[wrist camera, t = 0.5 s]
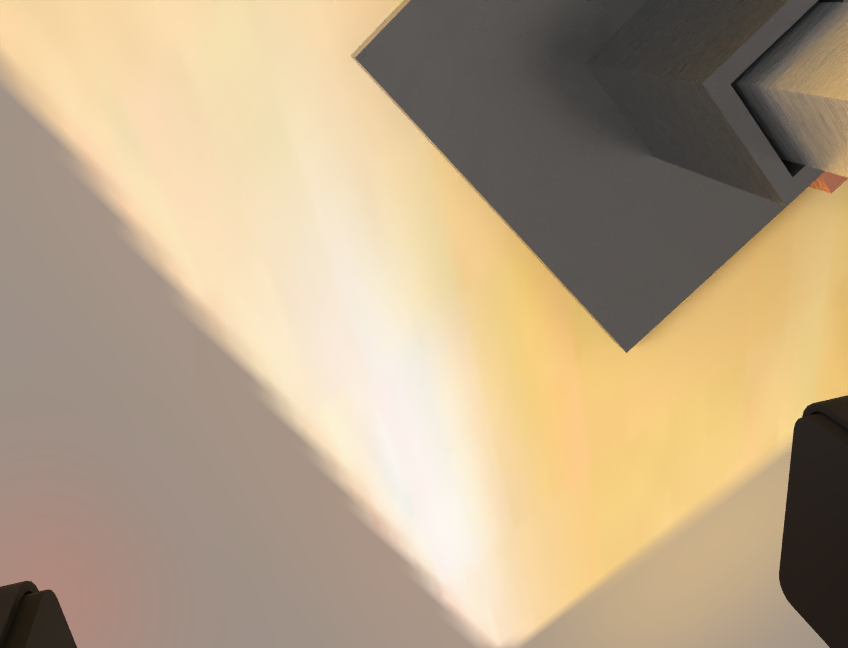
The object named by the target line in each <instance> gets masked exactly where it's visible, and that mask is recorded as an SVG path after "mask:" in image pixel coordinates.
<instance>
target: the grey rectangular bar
mask: <svg viewBox="0 0 848 648" xmlns="http://www.w3.org/2000/svg"><path fill="white" fill-rule="evenodd" d="M731 86H732V87H733V89H734V90H735V92H736V93H737V95H738V96H739V98H740V99H741V101H742V102H743V104H744V105H745V107H746V108H747V110H748V111H749V113H750V114H751V116H752V117H753V119H754V120H755V122H756V123H757V125H758V126H759V128H760V129H761V131H762V132H763V134H764V135H765V137H766V138H767V140H768V141H769V143H770V144H771V146H772V147H773V149H774V150H775V152H776V153H777V155H778V156H779V158H781V159H784V160H788V161H791V162H795V163H798V164H802V165H805V166H809V167H812V168H816V169H819V170H823V171H826V172H830V173H833V174H837V175H840V176H844V177H847V178H848V2H816V3H815V4H814V5H813V6H812V7H811V8H810V9H809V10H808V11H807V12H806V13H805V14H804V15H802V16H801V17H800V18H799V19H798V20H797V21H796V22H795V23H794V24H793V25H792V26H791V27H790V28H789V29H788V30H787V31H786V32H785V33H784V34H783V35H781V36H780V37H779V38H778V39H777V40H776V41H775V42H774V43H773V44H772V45H771V46H770V47H769V48H768V49H767V50H766V51H765V52H764V53H763V54H762V55H760V56H759V57H758V58H757V59H756V60H755V61H754V62H753V63H752V64H751V65H750V66H749V67H748V68H747V69H746V70H745V71H744V72H743V73H742V74H741V75H739V76H738V77H737V78H736V79H735V80H734V81H733V82H732V83H731Z"/></svg>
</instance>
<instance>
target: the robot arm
mask: <svg viewBox="0 0 848 648" xmlns="http://www.w3.org/2000/svg"><path fill="white" fill-rule="evenodd" d="M779 580H780V585H781V588H782V591H783V593H784V595H785V597H786V599H787V600H788V601H789V602H790V604H791V605H792V606H793V607H794V609H795V610H796V611H797V612H798V613H799V614H800V615H801V616H802V617H803V618H804V619H805V621H806V622H807V623H808V624H809V625H810V626H811V627H812V628H813V629H814V630H815V632H816V633H817V634H818V635H819V636H820V637H821V638H822V639H823V640H824V641H825V643H826V644H827V645H828V646H829V647H830V648H848V396H843V397H839V398H834V399H830V400H826V401H821V402H817V403H813V404H811V405H809V406H807V408H806V409H805V410H804V412H803V416H802V418H800V419H798V420H797V422H796V423H795V427H794V433H793V443H792V453H791V462H790V473H789V482H788V492H787V502H786V511H785V521H784V531H783V540H782V551H781V560H780V570H779ZM0 648H77V646H76V644H75V642H74V639H73V636H72V634H71V631H70V629H69V627H68V624H67V622H66V619H65V617H64V614H63V612H62V609H61V607H60V604H59V602H58V599H57V597H56V595H55V594H54V592H53V591H52V590H43V591H38V589H37V587H36V585H34V584H33V583H32V582H31V581H24V582H19V583H15V584H11V585H6V586H2V587H0Z"/></svg>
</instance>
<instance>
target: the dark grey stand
mask: <svg viewBox="0 0 848 648" xmlns="http://www.w3.org/2000/svg"><path fill="white" fill-rule="evenodd" d="M816 2H848V0H404V1H403V2H402V3H401V4H400V5H399V6H398V7H397V8H396V9H395V10H394V11H393V12H392V14H391V15H390V16H389V17H388V18H387V19H386V20H385V21H384V22H383V23H382V24H381V25H380V26H379V27H378V28H377V29H376V30H375V31H374V32H373V33H372V34H371V35H370V36H369V37H368V38H367V40H366V41H365V42H364V43H363V44H362V45H361V46H360V47H359V48H358V49H357V50H356V51H355V52H354V53H353V54H352V55H351V57H352V58H353V59H354V60H355V61H356V62H357V63H358V64H359V65H360V66H361V68H362V69H363V70H364V71H365V72H366V73H367V74H368V75H369V76H370V77H371V78H372V79H373V81H374V82H375V83H376V84H377V85H378V86H379V87H380V88H381V89H382V90H383V91H384V92H385V94H386V95H387V96H388V97H389V98H390V99H391V100H392V101H393V102H394V103H395V104H396V105H397V107H398V108H399V109H400V110H401V111H402V112H403V113H404V114H405V115H406V116H407V117H408V118H409V120H410V121H411V122H412V123H413V124H414V125H415V126H416V127H417V128H418V129H419V130H420V131H421V133H422V134H423V135H424V136H425V137H426V138H427V139H428V140H429V141H430V142H431V143H432V144H433V146H434V147H435V148H436V149H437V150H438V151H439V152H440V153H441V154H442V155H443V156H444V157H445V159H446V160H447V161H448V162H449V163H450V164H451V165H452V166H453V167H454V168H455V169H456V170H457V172H458V173H459V174H460V175H461V176H462V177H463V178H464V179H465V180H466V181H467V182H468V183H469V185H470V186H471V187H472V188H473V189H474V190H475V191H476V192H477V193H478V194H479V195H480V196H481V198H482V199H483V200H484V201H485V202H486V203H487V204H488V205H489V206H490V207H491V208H492V209H493V211H494V212H495V213H496V214H497V215H498V216H499V217H500V218H501V219H502V220H503V221H504V222H505V224H506V225H507V226H508V227H509V228H510V229H511V230H512V231H513V232H514V233H515V234H516V235H517V237H518V238H519V239H520V240H521V241H522V242H523V243H524V244H525V245H526V246H527V247H528V248H529V250H530V251H531V252H532V253H533V254H534V255H535V256H536V257H537V258H538V259H539V260H540V261H541V263H542V264H543V265H544V266H545V267H546V268H547V269H548V270H549V271H550V272H551V273H552V274H553V276H554V277H555V278H556V279H557V280H558V281H559V282H560V283H561V284H562V285H563V286H564V287H565V289H566V290H567V291H568V292H569V293H570V294H571V295H572V296H573V297H574V298H575V299H576V300H577V302H578V303H579V304H580V305H581V306H582V307H583V308H584V309H585V310H586V311H587V312H588V313H589V315H590V316H591V317H592V318H593V319H594V320H595V321H596V322H597V323H598V324H599V325H600V326H601V328H602V329H603V330H604V331H605V332H606V333H607V334H608V335H609V336H610V337H611V338H612V339H613V341H614V342H615V343H616V344H618V345H619V346H620V347H621V348H622V349H623V350H624V351H625V352H626V353H627V352H628V351H629V350H630V349H631V348H632V347H633V346H635V345H636V344H637V343H638V342H639V341H640V340H641V339H642V338H643V337H644V336H645V335H647V334H648V333H649V332H650V331H651V330H652V329H653V328H654V327H655V326H656V325H657V324H659V323H660V322H661V321H662V320H663V319H664V318H665V317H666V316H667V315H668V314H669V313H671V312H672V311H673V310H674V309H675V308H676V307H677V306H678V305H679V304H680V303H681V302H683V301H684V300H685V299H686V298H687V297H688V296H689V295H690V294H691V293H692V292H693V291H695V290H696V289H697V288H698V287H699V286H700V285H701V284H702V283H703V282H704V281H705V280H707V279H708V278H709V277H710V276H711V275H712V274H713V273H714V272H715V271H716V270H717V269H719V268H720V267H721V266H722V265H723V264H724V263H725V262H726V261H727V260H728V259H729V258H731V257H732V256H733V255H734V254H735V253H736V252H737V251H738V250H739V249H740V248H741V247H743V246H744V245H745V244H746V243H747V242H748V241H749V240H750V239H751V238H752V237H753V236H755V235H756V234H757V233H758V232H759V231H760V230H761V229H762V228H763V227H764V226H765V225H767V224H768V223H769V222H770V221H771V220H772V219H773V218H774V217H775V216H776V215H777V214H779V213H780V212H781V211H782V210H783V209H784V208H785V207H786V206H787V205H788V204H789V203H791V202H792V201H793V200H794V199H795V198H796V197H797V196H798V195H799V194H800V193H801V192H803V191H804V190H805V189H806V188H807V187H808V186H811V187H814V188H817V189H820V190H823V191H826V192H829V193H832V192H833V191H834V190H836V189H837V188H838V187H839V186H840V185H841V184H842V183H843V182H844V181H845V180H847V179H848V178H847V177H844V176H840V175H837V174H833V173H830V172H826V171H823V170H819V169H816V168H812V167H809V166H805V165H802V164H798V163H795V162H791V161H788V160H784V159H781V158H779V156H778V155H777V153H776V152H775V150H774V149H773V147H772V146H771V144H770V143H769V141H768V140H767V138H766V137H765V135H764V134H763V132H762V131H761V129H760V128H759V126H758V125H757V123H756V122H755V120H754V119H753V117H752V116H751V114H750V113H749V111H748V110H747V108H746V107H745V105H744V104H743V102H742V101H741V99H740V98H739V96H738V95H737V93H736V92H735V90H734V89H733V87H732V86H731V83H732V82H733V81H734V80H735V79H736V78H737V77H738V76H739V75H741V74H742V73H743V72H744V71H745V70H746V69H747V68H748V67H749V66H750V65H751V64H752V63H753V62H754V61H755V60H756V59H757V58H758V57H759V56H760V55H762V54H763V53H764V52H765V51H766V50H767V49H768V48H769V47H770V46H771V45H772V44H773V43H774V42H775V41H776V40H777V39H778V38H779V37H780V36H781V35H783V34H784V33H785V32H786V31H787V30H788V29H789V28H790V27H791V26H792V25H793V24H794V23H795V22H796V21H797V20H798V19H799V18H800V17H801V16H802V15H804V14H805V13H806V12H807V11H808V10H809V9H810V8H811V7H812V6H813V5H814V4H815V3H816Z"/></svg>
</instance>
